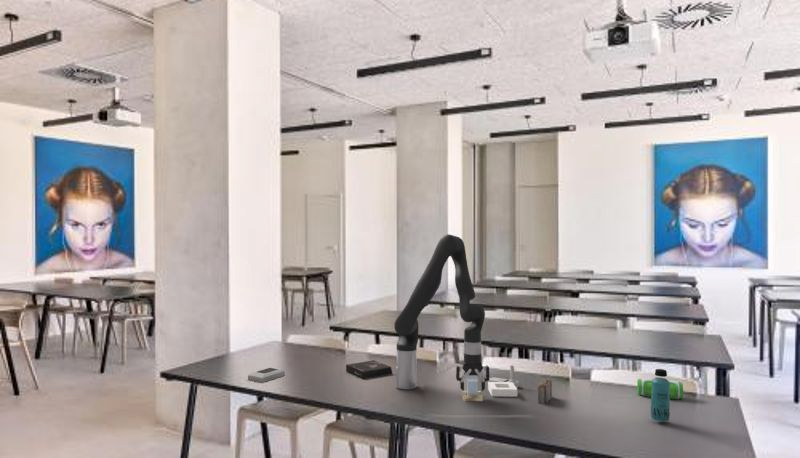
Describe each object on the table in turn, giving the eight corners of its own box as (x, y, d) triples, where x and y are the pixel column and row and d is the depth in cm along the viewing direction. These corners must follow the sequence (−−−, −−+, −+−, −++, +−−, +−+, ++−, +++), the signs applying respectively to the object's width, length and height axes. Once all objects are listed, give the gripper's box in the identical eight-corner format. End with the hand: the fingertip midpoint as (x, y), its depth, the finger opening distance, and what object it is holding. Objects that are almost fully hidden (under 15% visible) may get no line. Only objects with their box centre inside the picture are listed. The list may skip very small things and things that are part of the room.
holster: (463, 403, 234) (463, 396, 234) (461, 397, 242) (461, 390, 242) (482, 403, 234) (482, 396, 234) (480, 397, 242) (480, 390, 242)
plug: (467, 399, 236) (468, 375, 236) (466, 396, 240) (467, 373, 240) (477, 399, 236) (477, 375, 236) (476, 396, 240) (476, 373, 240)
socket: (491, 398, 240) (491, 389, 240) (487, 390, 251) (488, 382, 251) (517, 398, 240) (517, 389, 240) (512, 391, 251) (512, 382, 251)
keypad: (248, 372, 268) (270, 366, 281) (248, 380, 269) (270, 373, 281) (262, 375, 263) (284, 368, 276) (262, 383, 264) (284, 376, 276)
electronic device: (491, 361, 267) (520, 365, 258) (491, 382, 267) (520, 387, 258) (485, 364, 263) (514, 368, 254) (486, 385, 263) (515, 389, 253)
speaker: (680, 396, 244) (681, 379, 244) (683, 401, 237) (683, 383, 237) (637, 392, 250) (637, 375, 250) (638, 397, 243) (638, 380, 243)
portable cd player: (392, 374, 280) (392, 366, 280) (362, 380, 270) (362, 371, 270) (374, 367, 293) (374, 360, 293) (346, 372, 284) (346, 364, 284)
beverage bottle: (647, 419, 214) (647, 367, 214) (664, 419, 215) (664, 367, 215) (656, 425, 208) (656, 372, 208) (673, 425, 209) (674, 371, 208)
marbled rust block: (545, 405, 232) (545, 382, 232) (538, 404, 234) (538, 381, 234) (552, 398, 242) (552, 375, 242) (545, 397, 244) (545, 374, 244)
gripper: (456, 354, 234) (456, 393, 234) (490, 354, 234) (490, 393, 234) (455, 350, 241) (455, 387, 242) (488, 350, 241) (488, 388, 241)
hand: (472, 390), depth 238 cm, fingers open, 7 cm apart
